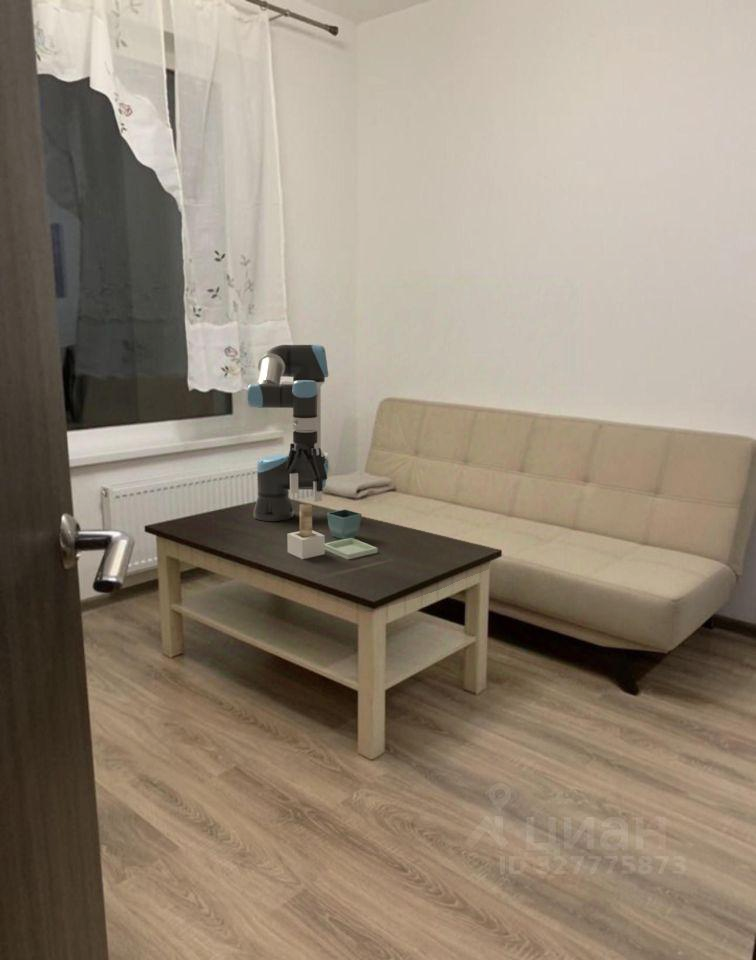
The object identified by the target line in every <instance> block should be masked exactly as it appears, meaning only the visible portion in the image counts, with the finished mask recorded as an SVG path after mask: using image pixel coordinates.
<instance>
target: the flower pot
mask: <svg viewBox="0 0 756 960" xmlns="http://www.w3.org/2000/svg"><path fill="white" fill-rule="evenodd" d="M326 515H327V525H328V529H329V531H330V534H331V535H332V536H333V537H334V538H337V539H339V540H343V539H348V538H354V539H355V538H356V536H357V535H358V533H359V530H360V526H361V522H362V521H361V520H362V515H363V514H362V513H360V512H357V511H354V510H353V511H352V510H349V509H340V510H336V511H331V512H326Z"/></svg>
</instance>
